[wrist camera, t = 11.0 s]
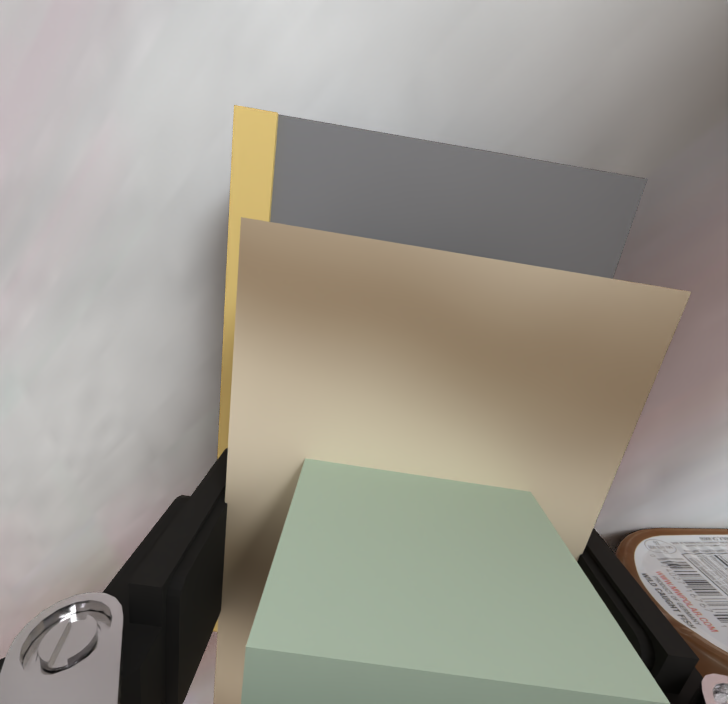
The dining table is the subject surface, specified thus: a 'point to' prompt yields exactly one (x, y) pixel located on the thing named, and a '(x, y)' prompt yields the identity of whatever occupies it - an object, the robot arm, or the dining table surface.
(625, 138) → the dining table surface
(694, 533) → the tin
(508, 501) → the box
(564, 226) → the dock
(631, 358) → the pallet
